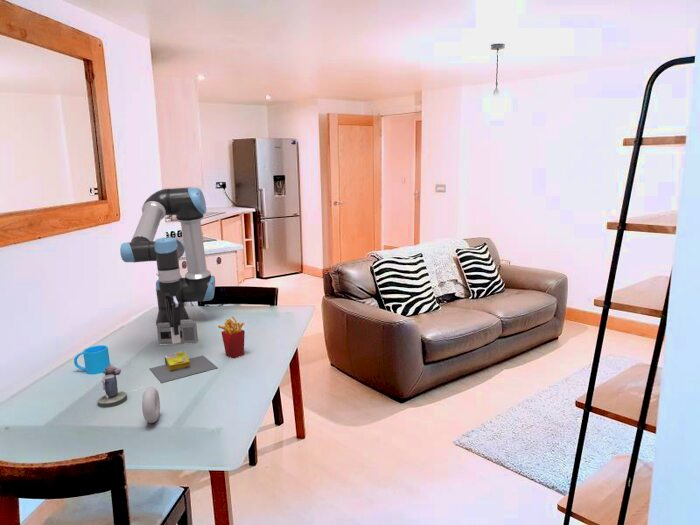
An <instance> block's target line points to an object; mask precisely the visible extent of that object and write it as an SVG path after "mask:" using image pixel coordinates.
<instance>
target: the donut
mask: <svg viewBox="0 0 700 525" xmlns="http://www.w3.org/2000/svg"><path fill="white" fill-rule="evenodd" d="M141 407H142V409H141V410H142V415H143V419H144V420H145V422H147V423H149V424H154V423H155V422H157V421H158V420H159V416H160V412H161V400H160V394H159V391H158V389H156V387H151V386H150V387H148V388H146V389H145V390H144V391H143V395H142V401H141Z"/></svg>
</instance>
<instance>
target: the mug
mask: <svg viewBox="0 0 700 525" xmlns="http://www.w3.org/2000/svg"><path fill="white" fill-rule="evenodd" d="M82 355H83V362H84V367H82V366H81V365H79V363H78V359H79V357H80V356H82ZM73 365H74V366H75V368H78V370H83V371H85V373H86V374H87V375H99V374H104V373H103V371H105V368H106V367H107V366H111V362H110V353H109V347H108V345H106V344H105V345H104V344H103V345H102V344H101V345H100V344H99V345H94V346H90V347H87V348H84V349H83V351H82V352H80V353H77V355H75V356H74V359H73Z"/></svg>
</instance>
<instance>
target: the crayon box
mask: <svg viewBox="0 0 700 525" xmlns="http://www.w3.org/2000/svg"><path fill="white" fill-rule="evenodd" d="M189 359H190V357H189V356H188V355H187V354H186V352H185V351H180V352H175V353H171V354H167V355H164V363H165V365H167V367H168V369H169V371H171V370H175V369H180V368H184V367H189V366H190V363H189V362H190V360H189Z"/></svg>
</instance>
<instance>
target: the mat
mask: <svg viewBox="0 0 700 525" xmlns="http://www.w3.org/2000/svg"><path fill="white" fill-rule="evenodd" d="M189 360H190V362H189V363H190V366H189V367H184V368H180V369H175V370H171V371H169V369H168V367H167V365H166V364H163V365H157V366H154V367H150V368H149V371H150V372H151V373H152V374H153V375H154V377H155V378H156V379H157V380H158V382H160V384H163V383H167V382H172V381H174V380H176V381H177V380H180V379H183V378H186V377H190V376H193V375H197V374H201V373H205V372H209V370H210V371H212V370H217V369H218V366H217V365H216V364H214V363H213V362H212V361H211V360H209V359H208V358H206V356H205V355H203V354H202V355H199V356H194V357H191V358H190V357H189Z"/></svg>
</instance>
